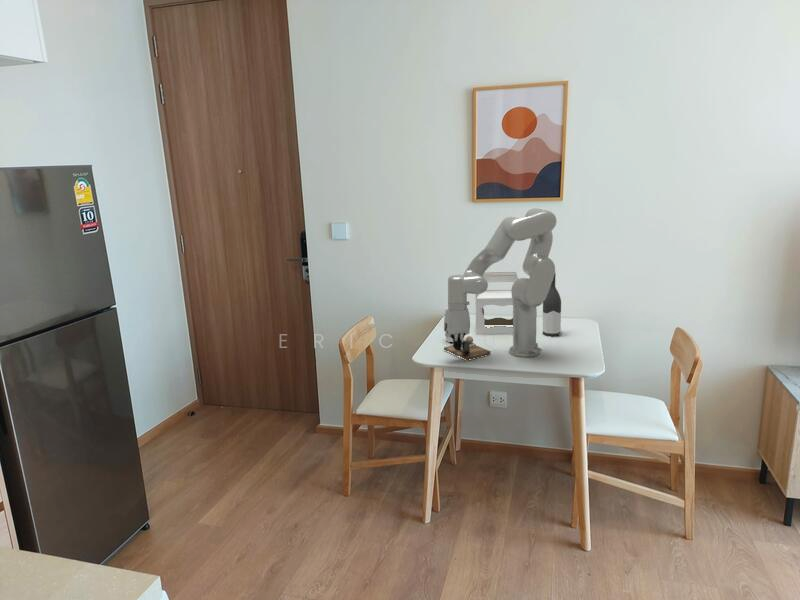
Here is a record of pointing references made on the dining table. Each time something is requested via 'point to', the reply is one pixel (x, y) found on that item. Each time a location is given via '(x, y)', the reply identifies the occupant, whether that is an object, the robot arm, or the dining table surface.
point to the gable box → (494, 299)
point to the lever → (465, 347)
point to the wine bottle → (552, 312)
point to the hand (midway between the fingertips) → (457, 348)
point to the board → (474, 350)
